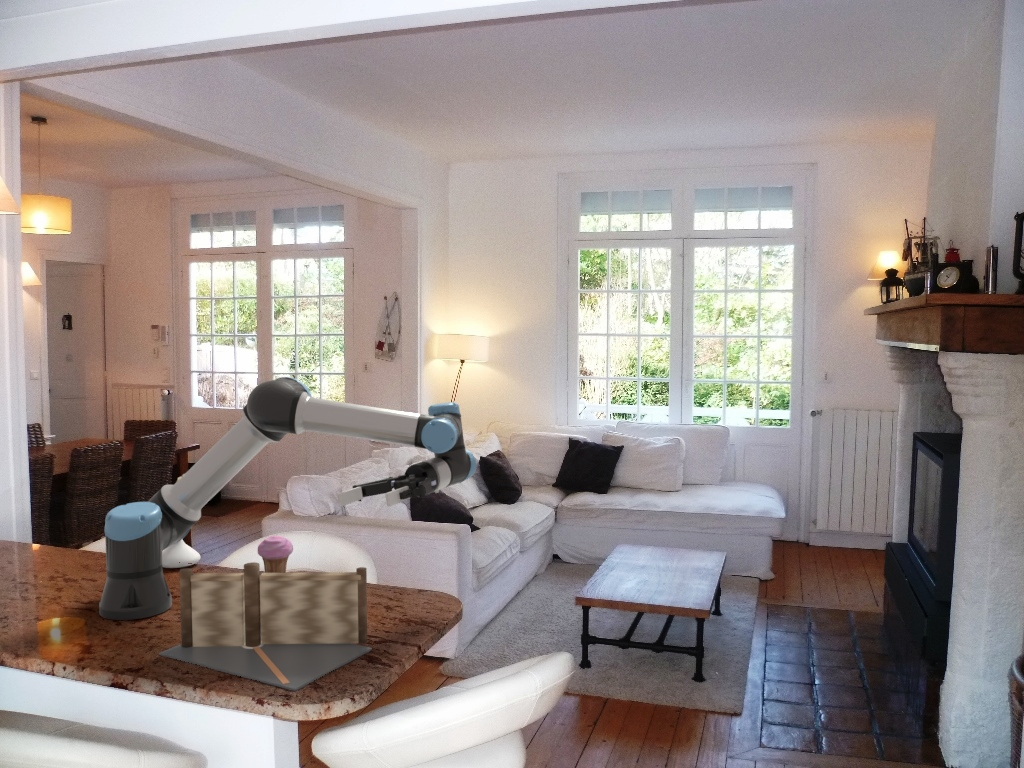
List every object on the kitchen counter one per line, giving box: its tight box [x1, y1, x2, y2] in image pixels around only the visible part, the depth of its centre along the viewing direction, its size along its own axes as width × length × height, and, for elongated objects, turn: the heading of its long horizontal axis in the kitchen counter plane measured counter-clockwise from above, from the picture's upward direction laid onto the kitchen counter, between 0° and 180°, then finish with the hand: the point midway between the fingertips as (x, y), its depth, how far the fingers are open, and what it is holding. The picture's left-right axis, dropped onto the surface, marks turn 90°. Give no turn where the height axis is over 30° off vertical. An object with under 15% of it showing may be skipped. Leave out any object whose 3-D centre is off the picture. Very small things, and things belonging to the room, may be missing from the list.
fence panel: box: [260, 566, 368, 645], centre depth 174 cm, size 21×2×15 cm, turn 92°
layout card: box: [158, 643, 373, 692], centre depth 171 cm, size 35×22×1 cm, turn 62°
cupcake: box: [257, 535, 294, 573], centre depth 224 cm, size 9×9×10 cm
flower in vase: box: [162, 473, 201, 569], centre depth 231 cm, size 13×11×25 cm
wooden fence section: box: [179, 561, 261, 648], centre depth 173 cm, size 16×3×16 cm, turn 92°
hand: (362, 499), depth 181 cm, fingers open, 13 cm apart
